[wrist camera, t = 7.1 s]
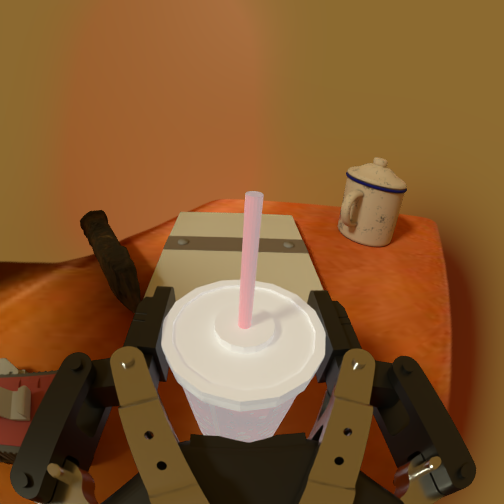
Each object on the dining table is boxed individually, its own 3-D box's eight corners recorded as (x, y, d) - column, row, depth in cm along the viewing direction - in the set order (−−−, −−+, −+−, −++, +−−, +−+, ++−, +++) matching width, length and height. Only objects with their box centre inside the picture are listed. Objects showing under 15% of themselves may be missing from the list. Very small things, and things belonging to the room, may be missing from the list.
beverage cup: (299, 402, 16) (370, 191, 9) (264, 481, 11) (364, 294, 4) (216, 371, 18) (214, 160, 11) (169, 437, 13) (87, 212, 6)
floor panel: (131, 354, 18) (126, 342, 17) (180, 219, 38) (180, 210, 38) (340, 357, 19) (346, 345, 18) (290, 222, 40) (291, 213, 39)
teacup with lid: (356, 216, 44) (369, 151, 38) (400, 239, 38) (419, 168, 32) (311, 231, 38) (323, 149, 32) (363, 261, 32) (386, 170, 26)
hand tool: (84, 239, 33) (77, 208, 30) (109, 231, 35) (104, 201, 32) (113, 330, 20) (97, 288, 18) (153, 315, 22) (144, 272, 20)
